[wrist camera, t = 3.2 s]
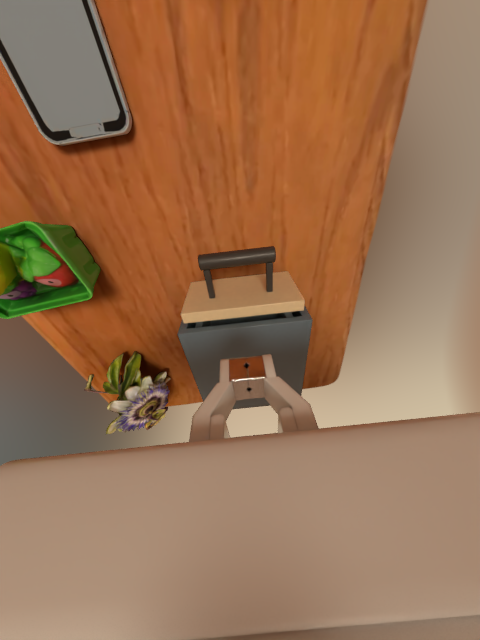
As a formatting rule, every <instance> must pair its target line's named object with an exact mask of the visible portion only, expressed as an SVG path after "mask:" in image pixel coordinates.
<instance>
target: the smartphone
mask: <svg viewBox="0 0 480 640" xmlns="http://www.w3.org/2000/svg"><path fill="white" fill-rule="evenodd" d="M0 59H1V61H2V62H3V64H4V66H5V68H6V70H7V72H8V74H9V76H10V77H11V79H12V81H13V83H14V85H15V87H16V89H17V91H18V92H19V94H20V96H21V98H22V100H23V102H24V104H25V106H26V107H27V109H28V111H29V113H30V115H31V117H32V119H33V121H34V122H35V124H36V126H37V128H38V130H39V131H40V133H41V134H42V135H43V137H44V138H45V139H47V140H48V141H49V142H51V143H53V144H57V145H70V144H75V143H81V142H86V141H92V140H97V139H103V138H108V137H114V136H119V135H125V134H127V133H128V132H129V131H130V130H131V127H132V117H131V114H130V110H129V107H128V104H127V101H126V98H125V95H124V92H123V89H122V86H121V83H120V80H119V77H118V73H117V70H116V67H115V64H114V61H113V58H112V55H111V52H110V49H109V46H108V43H107V40H106V36H105V33H104V30H103V27H102V24H101V21H100V18H99V15H98V12H97V9H96V6H95V3H94V0H0Z"/></svg>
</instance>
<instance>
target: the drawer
mask: <svg viewBox="0 0 480 640" xmlns="http://www.w3.org/2000/svg"><path fill="white" fill-rule="evenodd" d="M275 259H276V252H275V248H274V246H271V247H263V248H254V249H245V250H237V251H228V252H220V253H211V254H203V255H199V256H198V263H199V267H200V269H201V270H204V271H203V272H204V276H205V281H198V282H191V284H190V287H189V290H188V293H187V296H186V299H185V302H184V305H183V308H182V312H181V317H182V320H183V323H184V324H185V323H194V322H196V326H195V328H197V327H206V326H216V325H225V324H234V323H243V322H252V321H261V320H270V319H280V318H289V317H293V315H292V313H291V312H294V311H303V310H304V304H305V300H304V298H303V296H302V295H301V293H300V291H299V290H298V288H297V286H296V284H295V283H294V281H293V279H292V278H291V276H290V274H289V272H288V271H285V272H277V273H273V263H272V262H275ZM261 263H266V274H259V275H250V276H242V277H233V278H224V279H215V280H212V276H211V271H210V269H218V268H227V267H235V266H244V265H253V264H261Z"/></svg>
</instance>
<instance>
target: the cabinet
mask: <svg viewBox="0 0 480 640" xmlns="http://www.w3.org/2000/svg"><path fill="white" fill-rule="evenodd" d="M291 313H292V315H293V317H289V318H280V319H270V320H261V321H252V322H243V323H234V324H225V325H216V326H206V327H197V328H195V326H196V322H194V323H185V324H184V323H183V320H182V322H181V325H180V328H179V331H178V337H179V340H180V342H181V345H182V347H183V350H184V353H185V355H186V358H187V360H188V363H189V366H190V368H191V371H192V373H193V376H194V378H195V381H196V384H197V386H198V389H199V391H200V394H201V397H202V399H203V402H204V400H205V399H206V397H207V396H208V395H209V393H210V392H211V390H212V389H213V388H214V386H215V385H216V384H217V383H219V378H220V360H221V359H230V358H242V357H249V356H257V355H267V354H271V356H272V360H273V364H274V368H275V372H276V376H277V377H278V376H279V377H280V378H281V379H283V380H284V381H285V382H286V383H287V384H288V385H289V386H290V387H291V388H292V389H294V390H295V391H296V392H297V393H298V394H299V395H300V396H301V393H302V386H303V380H304V373H305V366H306V360H307V353H308V346H309V340H310V333H311V326H312V318H311V316H310V314H309V313H308V311H307V309H306V307H305V306H304V310H303V311H294V312H291ZM269 405H270V404H269V403H268V402H267V400H266V399H265V398H252V399H244V400H236V402H235V404H234V406H233V408H232V409H239V408H249V407H259V406H269Z"/></svg>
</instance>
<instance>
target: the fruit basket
mask: <svg viewBox="0 0 480 640" xmlns="http://www.w3.org/2000/svg"><path fill="white" fill-rule="evenodd" d="M100 270H101V269H100V267H99V266H98V265H97V264H96V263H95V262H94V260H93V257H92V256H91V254H90V253H89V251H88V250H87V248H86V247H85V245H84V244H83V243H82V241H81V240H80V239H79V238H78V237H76V234H75V231H74V230H73V228H72V227H71V226H68V225H51V224H41V223H38V222H30V221H24V222H20V223H17V224H14V225H11V226H8V227H4V228H0V317H1V318H5V319H10V318H13V317H17V316H21V315H26V314H29V313H34V312H38V311H43V310H47V309H52V308H56V307H60V306H64V305H68V304H73V303H77V302H82V301H86V300H90V299H91V298H92V295H93V292H94V285H95V283H96V280H97V278H98V276H99V273H100Z"/></svg>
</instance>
